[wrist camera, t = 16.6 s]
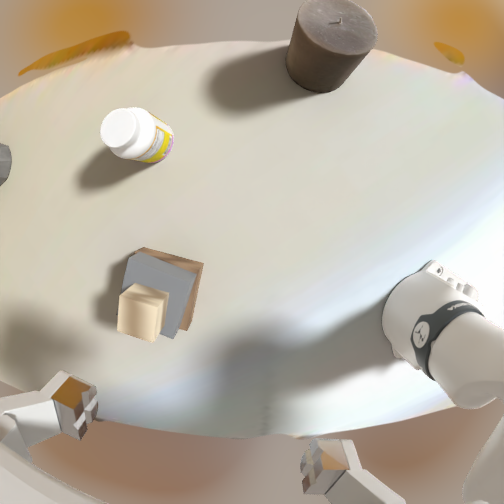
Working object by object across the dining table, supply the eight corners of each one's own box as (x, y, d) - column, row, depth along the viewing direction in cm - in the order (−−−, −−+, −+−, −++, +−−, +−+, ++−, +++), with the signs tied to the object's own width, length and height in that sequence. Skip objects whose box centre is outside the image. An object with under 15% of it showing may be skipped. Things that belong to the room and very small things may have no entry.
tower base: (204, 262, 44) (199, 269, 40) (192, 319, 46) (186, 330, 42) (144, 246, 44) (134, 251, 40) (136, 303, 46) (127, 312, 42)
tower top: (196, 273, 40) (190, 282, 37) (179, 326, 42) (173, 339, 38) (139, 251, 40) (128, 257, 36) (127, 304, 42) (116, 314, 38)
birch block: (169, 292, 37) (157, 307, 32) (164, 325, 38) (153, 342, 33) (135, 282, 37) (119, 295, 32) (131, 315, 38) (117, 330, 33)
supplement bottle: (130, 133, 40) (87, 117, 27) (167, 114, 39) (134, 89, 27) (143, 170, 41) (101, 166, 28) (181, 152, 40) (151, 139, 28)
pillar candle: (317, 104, 38) (346, 66, 24) (272, 61, 37) (279, 8, 22) (358, 72, 37) (398, 31, 22) (315, 31, 36) (337, -21, 21)
